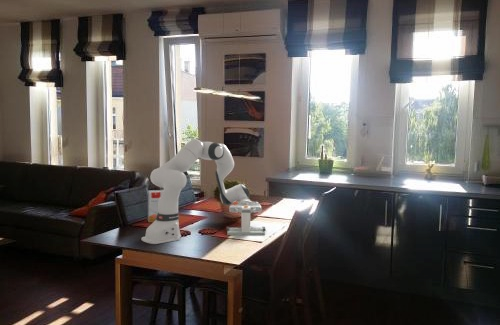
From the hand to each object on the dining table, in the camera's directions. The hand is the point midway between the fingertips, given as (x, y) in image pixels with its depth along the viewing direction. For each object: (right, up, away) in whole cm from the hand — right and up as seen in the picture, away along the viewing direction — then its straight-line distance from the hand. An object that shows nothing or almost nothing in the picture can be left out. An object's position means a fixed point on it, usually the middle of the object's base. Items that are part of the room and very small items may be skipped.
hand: (245, 211), depth 264 cm
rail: (0, -10, -6) cm, 12 cm away
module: (0, -10, -6) cm, 12 cm away
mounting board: (0, -12, -6) cm, 13 cm away
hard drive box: (-57, -9, +20) cm, 61 cm away
